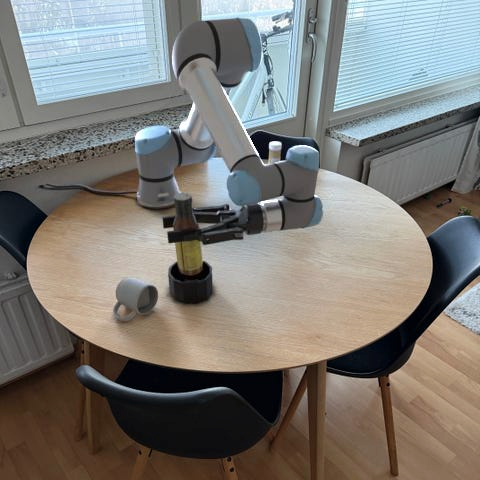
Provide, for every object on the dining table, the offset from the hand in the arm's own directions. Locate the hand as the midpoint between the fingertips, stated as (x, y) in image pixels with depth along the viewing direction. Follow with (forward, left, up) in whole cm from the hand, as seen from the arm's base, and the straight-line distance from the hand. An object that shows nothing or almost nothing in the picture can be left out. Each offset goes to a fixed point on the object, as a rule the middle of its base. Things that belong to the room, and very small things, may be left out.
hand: (165, 229), depth 101 cm
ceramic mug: (-5, -10, -19) cm, 22 cm away
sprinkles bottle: (-6, +79, -19) cm, 82 cm away
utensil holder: (+4, +3, -19) cm, 19 cm away
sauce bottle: (+4, +3, -12) cm, 13 cm away
